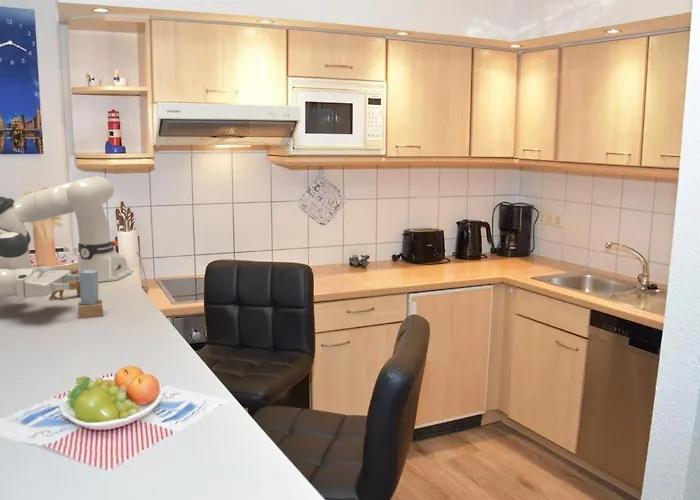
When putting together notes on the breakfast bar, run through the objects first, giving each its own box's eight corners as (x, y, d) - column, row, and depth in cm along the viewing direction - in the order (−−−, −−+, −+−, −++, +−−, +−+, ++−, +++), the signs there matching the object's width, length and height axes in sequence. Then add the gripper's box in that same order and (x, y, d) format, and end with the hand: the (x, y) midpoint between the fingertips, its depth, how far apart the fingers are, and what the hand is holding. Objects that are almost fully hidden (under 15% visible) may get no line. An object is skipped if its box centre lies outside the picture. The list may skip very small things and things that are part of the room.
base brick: (79, 313, 209) (78, 301, 208) (102, 311, 211) (101, 299, 211) (79, 319, 202) (78, 307, 202) (103, 317, 205) (102, 304, 204)
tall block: (85, 300, 208) (85, 270, 206) (98, 301, 208) (97, 270, 206) (80, 304, 204) (80, 272, 202) (93, 304, 204) (93, 273, 202)
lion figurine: (89, 292, 233) (88, 267, 231) (95, 295, 229) (93, 270, 227) (46, 299, 224) (44, 273, 222) (51, 302, 220) (49, 276, 218)
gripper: (45, 284, 215) (87, 284, 215) (16, 301, 195) (63, 300, 195) (43, 265, 213) (86, 265, 214) (14, 280, 193) (62, 280, 194)
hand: (75, 282), depth 204 cm, fingers open, 8 cm apart
